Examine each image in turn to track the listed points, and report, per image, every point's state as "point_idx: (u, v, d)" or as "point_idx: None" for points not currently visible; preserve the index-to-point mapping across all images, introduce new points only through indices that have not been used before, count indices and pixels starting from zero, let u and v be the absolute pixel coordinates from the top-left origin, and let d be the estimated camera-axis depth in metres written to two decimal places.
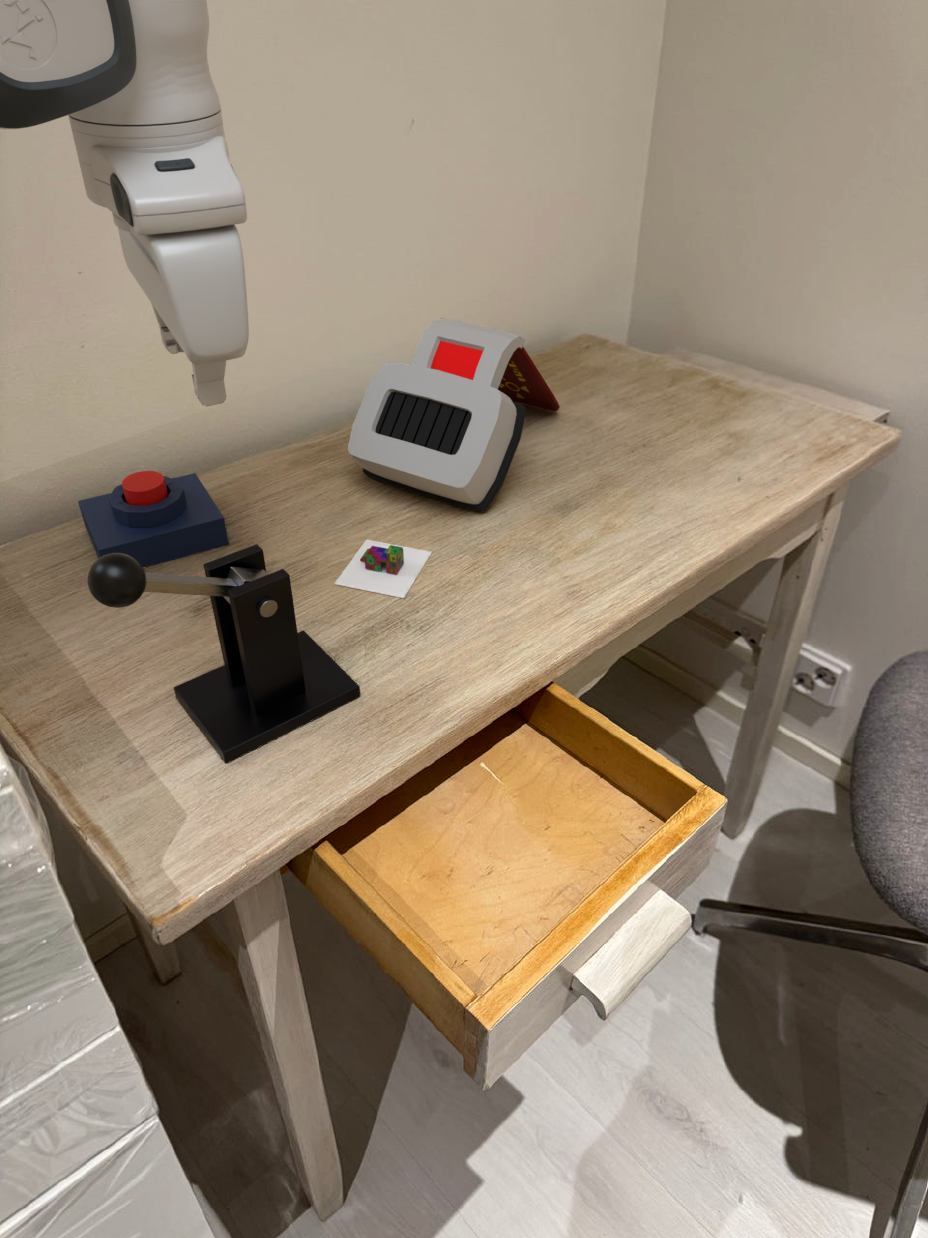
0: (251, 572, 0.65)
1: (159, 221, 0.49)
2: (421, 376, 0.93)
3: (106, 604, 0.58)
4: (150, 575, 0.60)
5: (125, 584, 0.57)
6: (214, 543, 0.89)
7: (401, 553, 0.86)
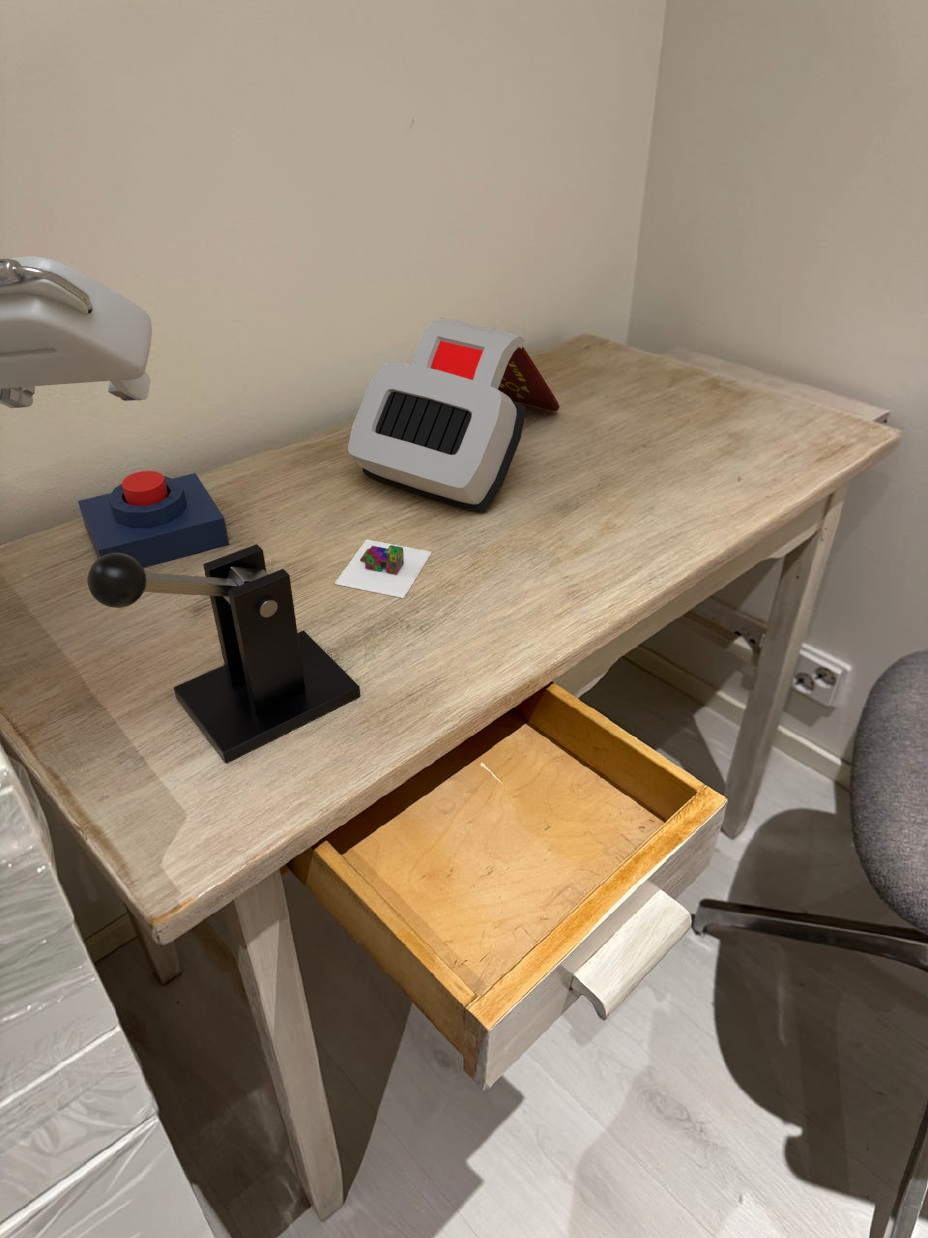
0: (251, 572, 0.65)
1: None
2: (421, 376, 0.93)
3: (106, 604, 0.58)
4: (150, 575, 0.60)
5: (125, 584, 0.57)
6: (214, 543, 0.89)
7: (401, 553, 0.86)
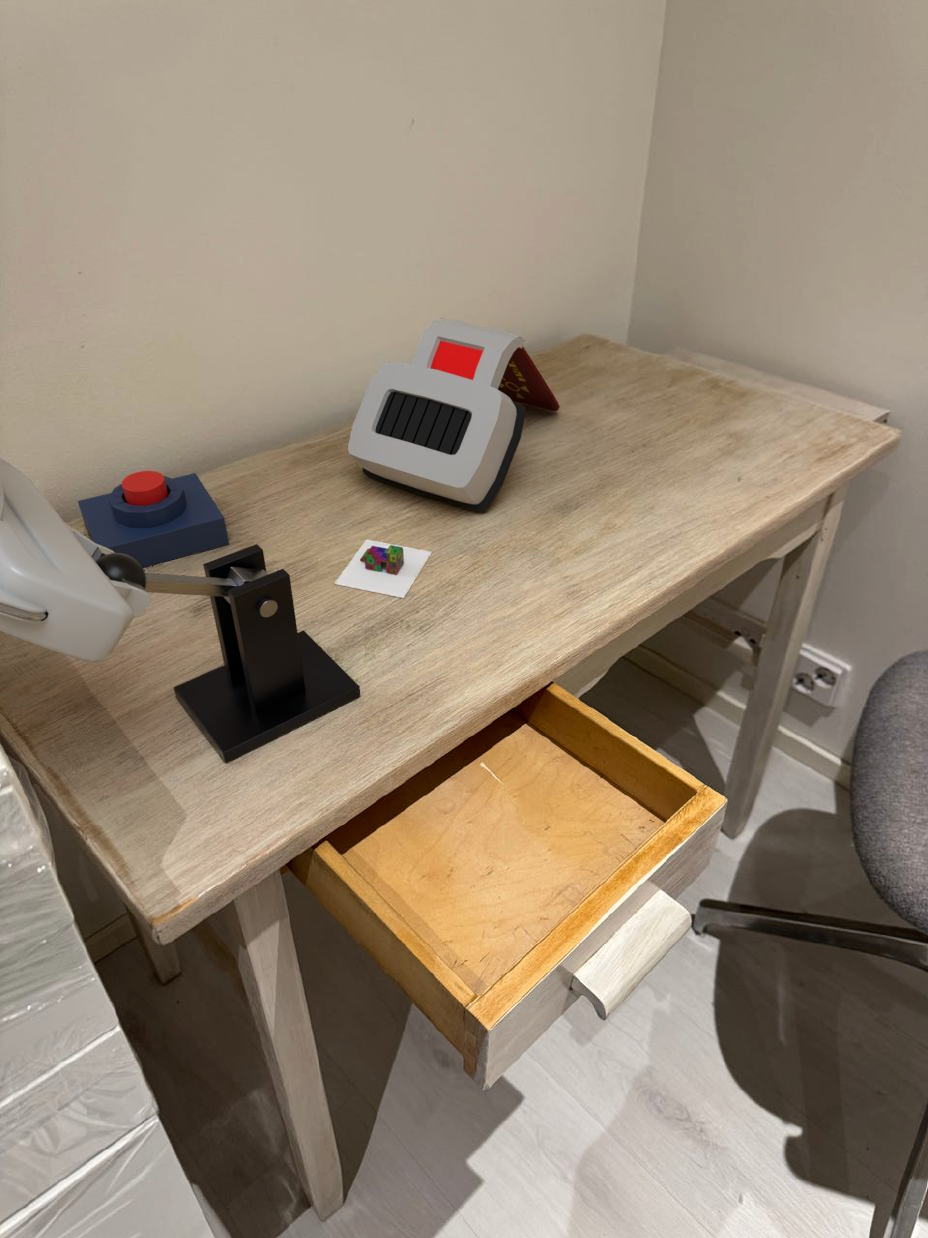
0: (251, 572, 0.65)
1: None
2: (421, 376, 0.93)
3: None
4: (150, 575, 0.60)
5: None
6: (214, 543, 0.89)
7: (401, 553, 0.86)
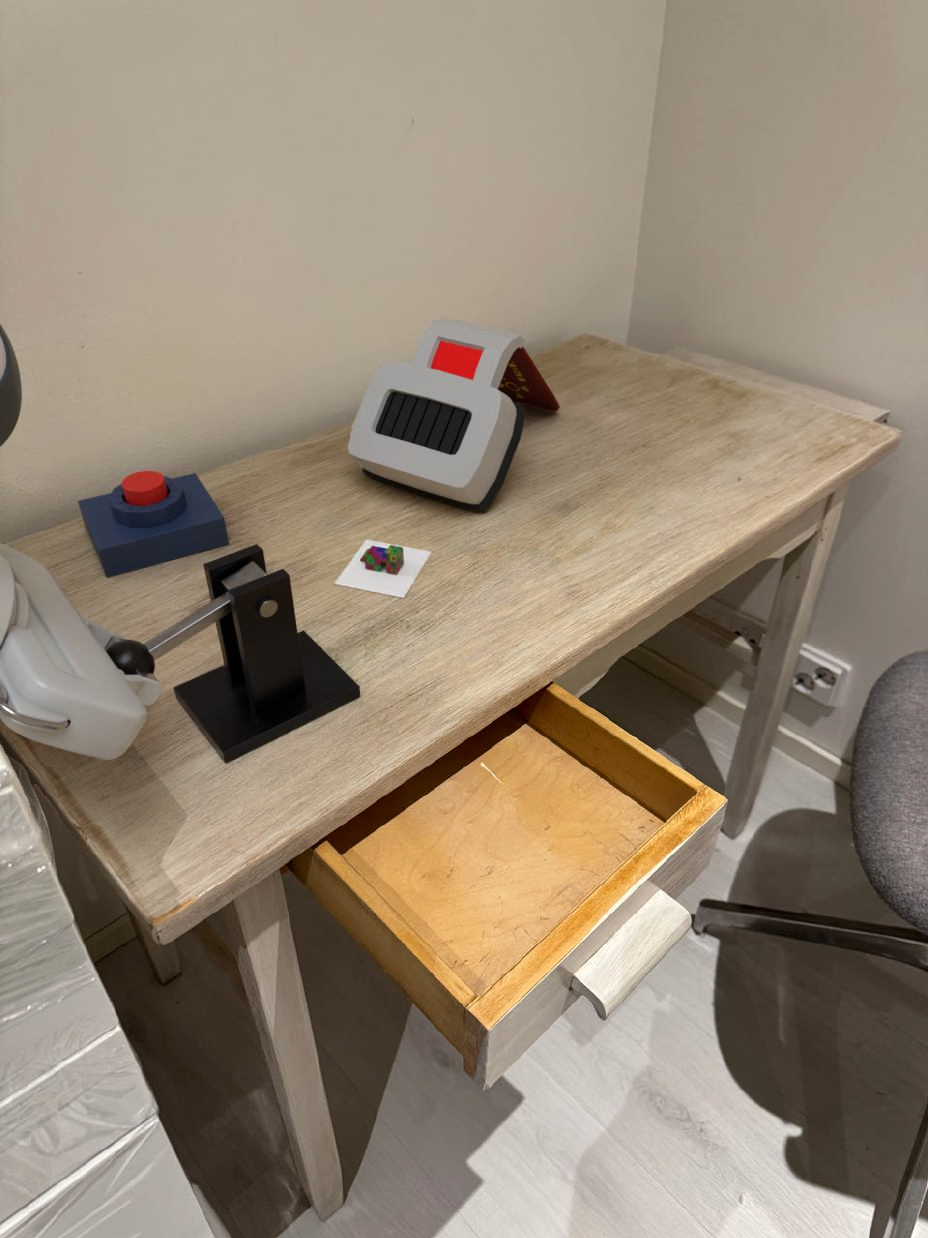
0: (240, 575, 0.65)
1: None
2: (421, 376, 0.93)
3: None
4: (152, 643, 0.63)
5: None
6: (214, 543, 0.89)
7: (401, 553, 0.86)
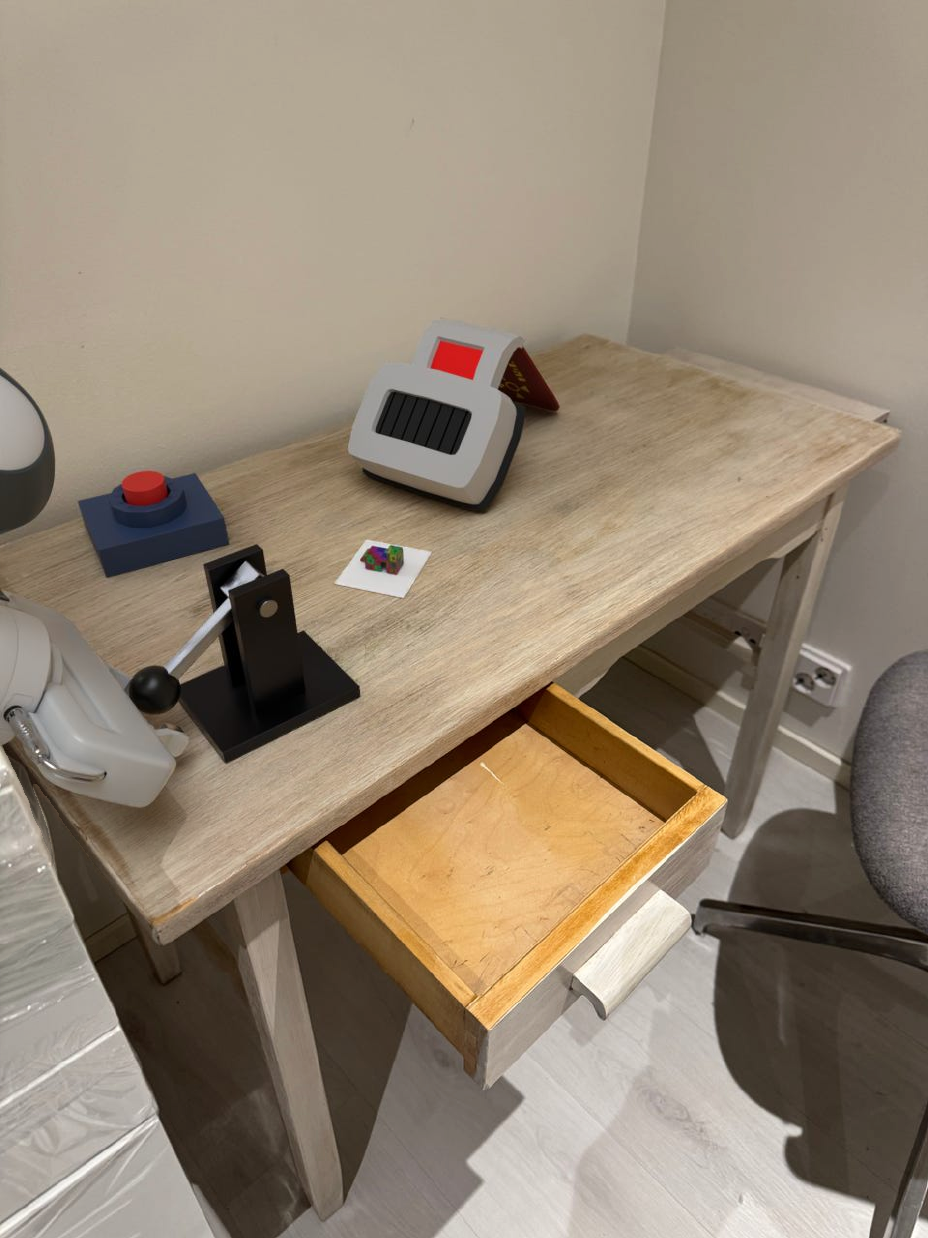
0: (236, 579, 0.65)
1: None
2: (421, 376, 0.93)
3: (165, 711, 0.65)
4: (170, 664, 0.65)
5: (155, 702, 0.63)
6: (214, 543, 0.89)
7: (401, 553, 0.86)
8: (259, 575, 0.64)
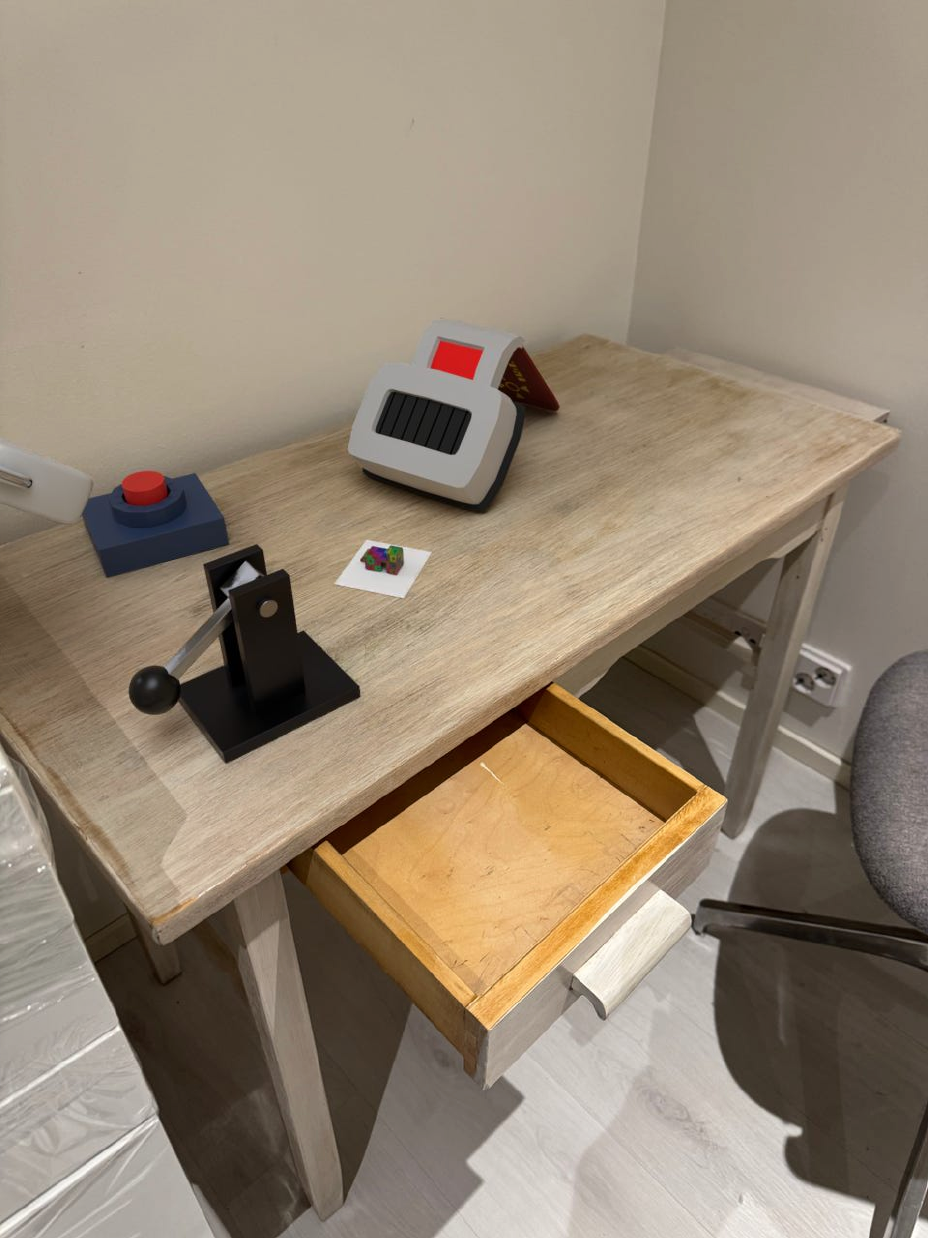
0: (236, 579, 0.65)
1: None
2: (421, 376, 0.93)
3: (165, 711, 0.65)
4: (170, 664, 0.65)
5: (155, 702, 0.63)
6: (214, 543, 0.89)
7: (401, 553, 0.86)
8: (259, 575, 0.64)
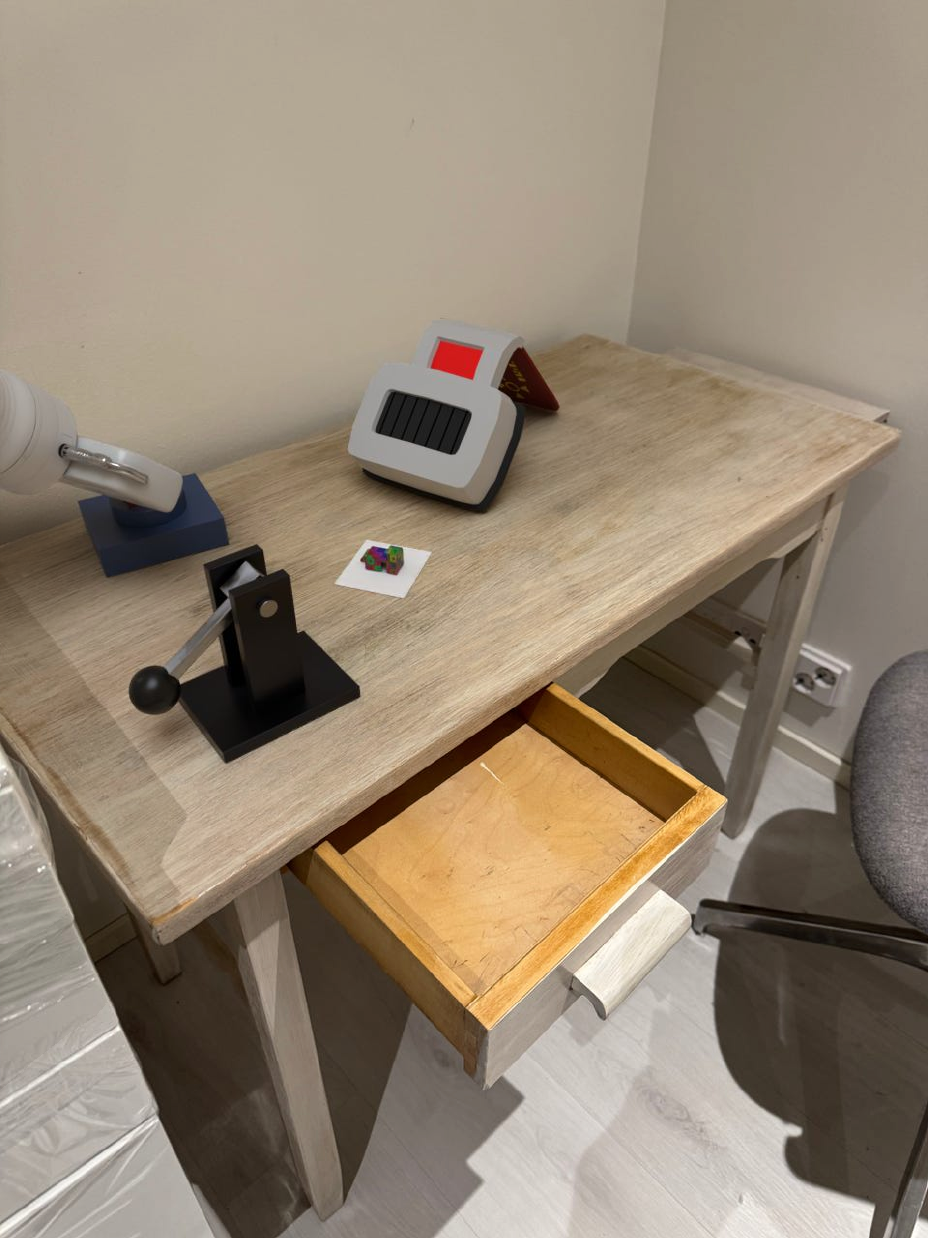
0: (236, 579, 0.65)
1: None
2: (421, 376, 0.93)
3: (165, 711, 0.65)
4: (170, 664, 0.65)
5: (155, 702, 0.63)
6: (214, 543, 0.89)
7: (401, 553, 0.86)
8: (259, 575, 0.64)
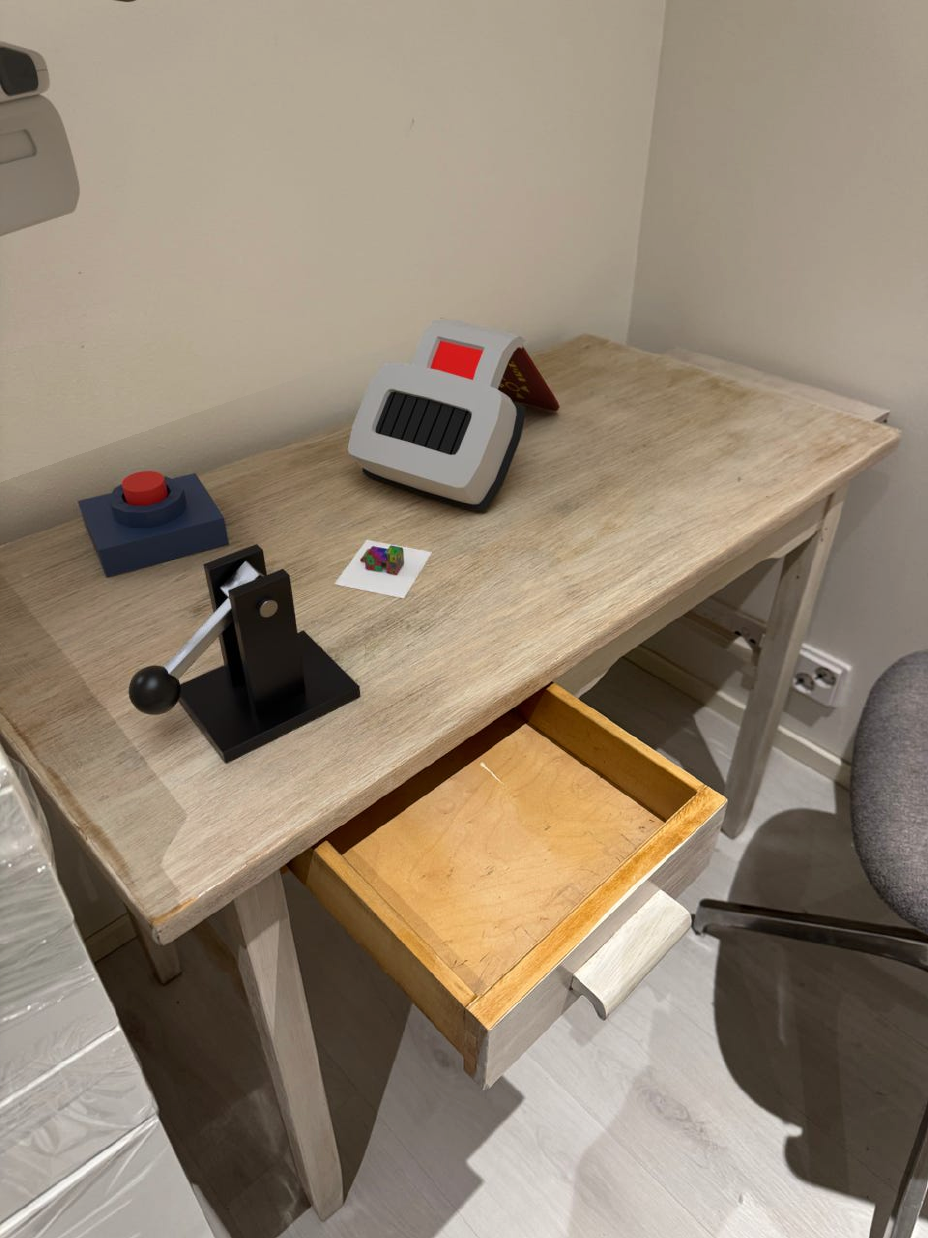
0: (236, 579, 0.65)
1: None
2: (421, 376, 0.93)
3: (165, 711, 0.65)
4: (170, 664, 0.65)
5: (155, 702, 0.63)
6: (214, 543, 0.89)
7: (401, 553, 0.86)
8: (259, 575, 0.64)
